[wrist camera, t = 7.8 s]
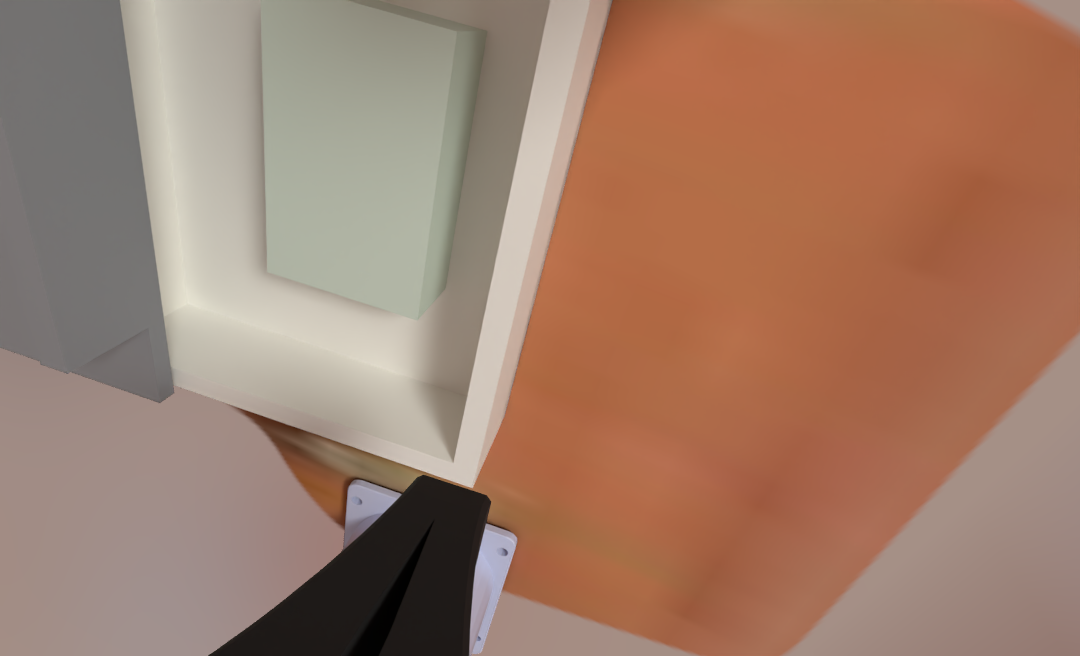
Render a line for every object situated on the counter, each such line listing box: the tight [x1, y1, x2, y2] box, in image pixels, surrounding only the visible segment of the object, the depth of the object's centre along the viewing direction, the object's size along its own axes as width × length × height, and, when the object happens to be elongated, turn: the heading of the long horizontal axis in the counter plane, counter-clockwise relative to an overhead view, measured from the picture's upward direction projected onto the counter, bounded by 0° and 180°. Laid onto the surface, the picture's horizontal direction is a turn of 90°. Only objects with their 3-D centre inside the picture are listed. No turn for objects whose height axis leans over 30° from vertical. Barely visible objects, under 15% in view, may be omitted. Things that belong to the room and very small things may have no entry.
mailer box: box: [120, 0, 612, 488], centre depth 16 cm, size 18×14×4 cm
